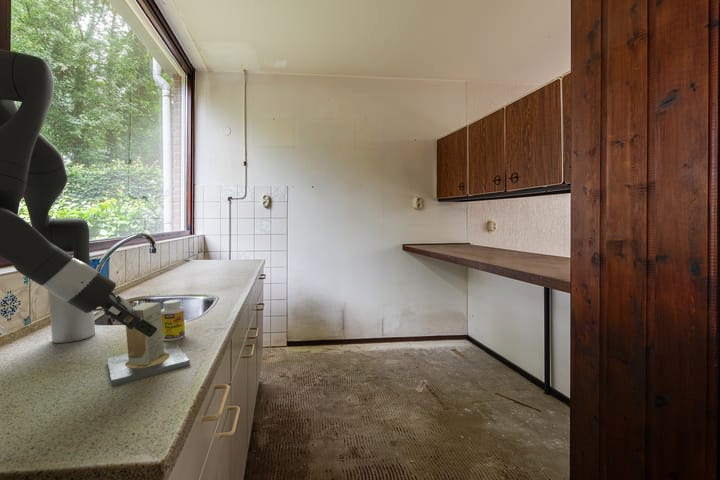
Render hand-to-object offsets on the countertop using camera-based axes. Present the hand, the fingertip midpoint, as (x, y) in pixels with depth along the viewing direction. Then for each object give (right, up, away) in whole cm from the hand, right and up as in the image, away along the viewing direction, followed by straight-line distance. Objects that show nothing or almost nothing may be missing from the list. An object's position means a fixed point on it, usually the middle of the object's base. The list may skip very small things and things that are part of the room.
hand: (150, 328), depth 76 cm
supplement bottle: (-4, -7, +17) cm, 19 cm away
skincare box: (-1, -7, 0) cm, 7 cm away
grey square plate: (-1, -8, 0) cm, 8 cm away
